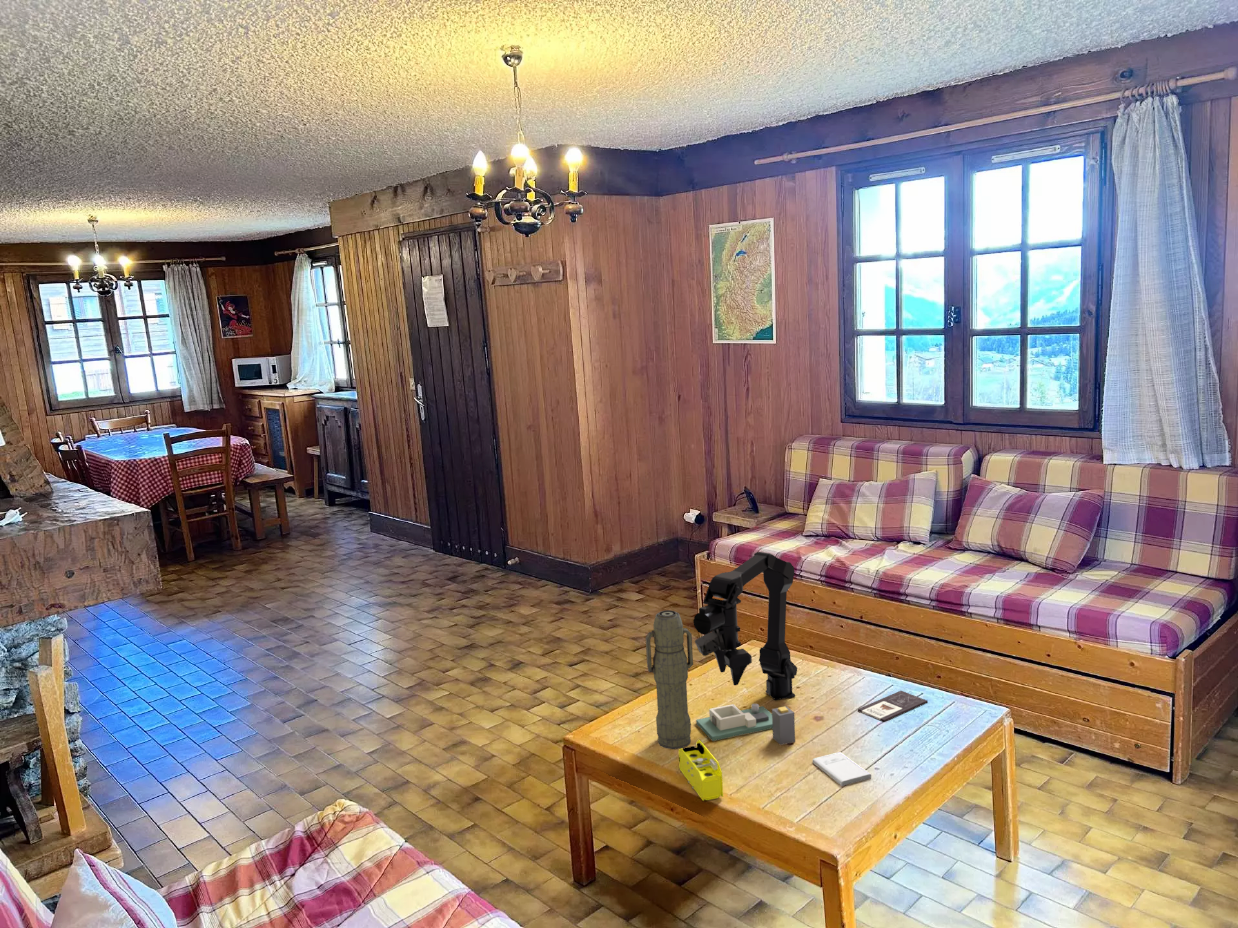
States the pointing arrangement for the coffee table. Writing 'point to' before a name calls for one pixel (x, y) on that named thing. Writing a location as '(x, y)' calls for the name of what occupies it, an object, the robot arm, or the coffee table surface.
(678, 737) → the thermos
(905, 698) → the chocolate bar
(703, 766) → the yellow toy chassis
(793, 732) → the plug
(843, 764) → the external hard drive
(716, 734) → the board
